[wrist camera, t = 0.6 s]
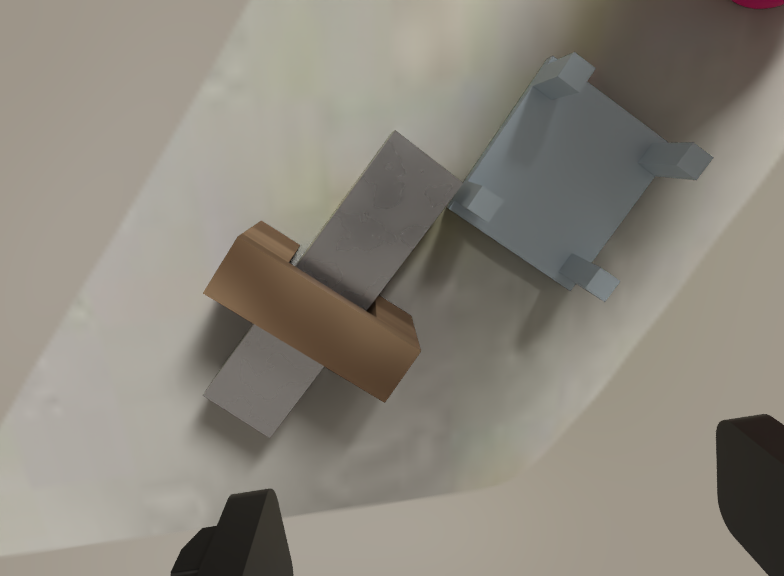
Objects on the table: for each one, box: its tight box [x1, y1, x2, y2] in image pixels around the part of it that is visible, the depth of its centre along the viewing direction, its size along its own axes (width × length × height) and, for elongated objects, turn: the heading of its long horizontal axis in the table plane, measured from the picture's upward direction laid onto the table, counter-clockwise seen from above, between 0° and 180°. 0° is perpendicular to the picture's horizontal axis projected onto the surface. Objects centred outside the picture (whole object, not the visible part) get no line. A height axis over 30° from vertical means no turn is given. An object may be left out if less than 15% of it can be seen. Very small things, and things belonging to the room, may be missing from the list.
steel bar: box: [203, 130, 463, 438], centre depth 31 cm, size 16×4×4 cm, turn 143°
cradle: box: [447, 52, 714, 302], centre depth 30 cm, size 9×8×5 cm
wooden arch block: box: [203, 221, 421, 403], centre depth 30 cm, size 3×10×6 cm, turn 57°
